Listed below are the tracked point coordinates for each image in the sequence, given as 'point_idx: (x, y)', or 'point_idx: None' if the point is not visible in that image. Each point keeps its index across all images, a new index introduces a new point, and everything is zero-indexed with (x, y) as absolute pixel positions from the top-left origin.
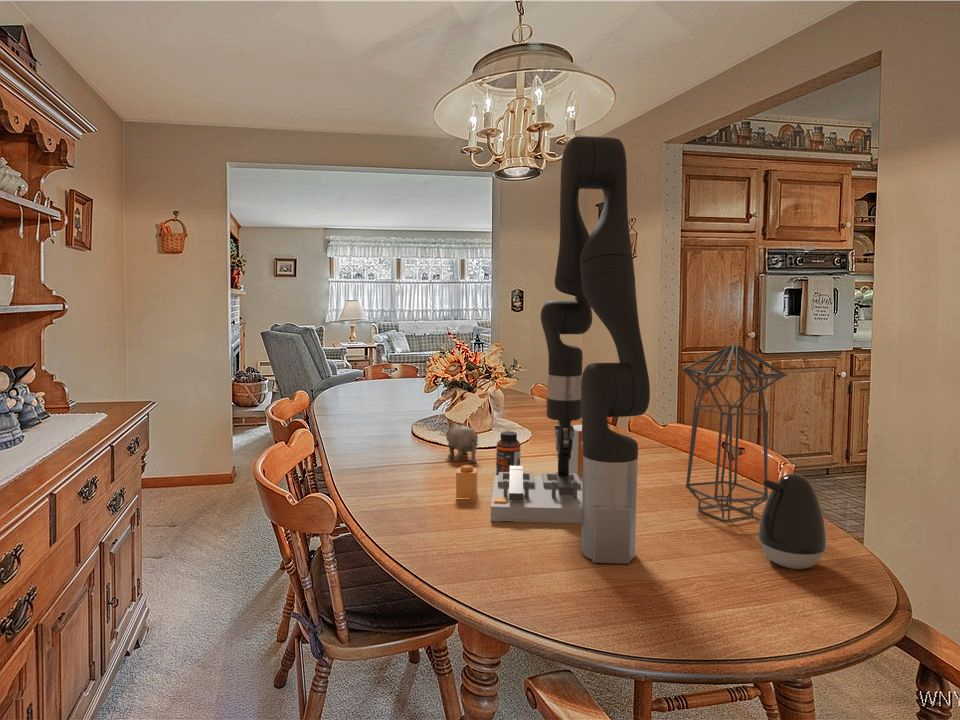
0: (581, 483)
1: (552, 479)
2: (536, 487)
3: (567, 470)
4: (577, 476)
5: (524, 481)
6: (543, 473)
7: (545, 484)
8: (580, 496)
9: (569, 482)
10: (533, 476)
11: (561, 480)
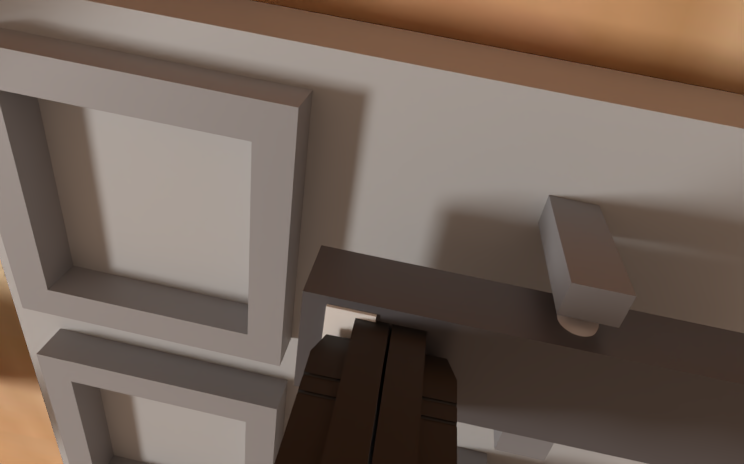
0: (141, 29)
1: (72, 233)
2: (281, 369)
3: (421, 383)
4: (55, 67)
5: (259, 447)
6: (39, 306)
7: (284, 346)
8: (547, 160)
9: (681, 393)
10: (133, 378)
11: (584, 427)
